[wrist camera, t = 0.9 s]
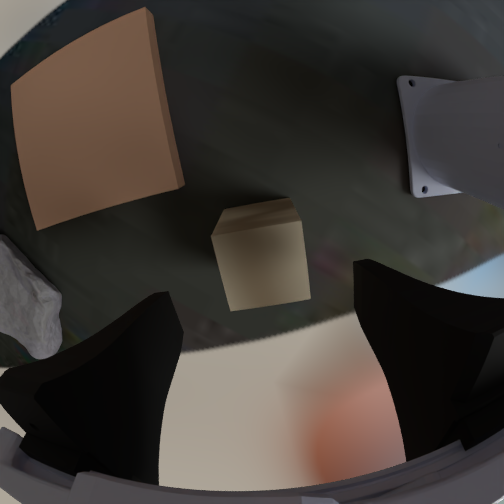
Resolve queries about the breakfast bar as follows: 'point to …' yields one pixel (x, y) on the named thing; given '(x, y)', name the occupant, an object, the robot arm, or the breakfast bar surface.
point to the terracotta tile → (96, 123)
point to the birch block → (261, 254)
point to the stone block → (28, 303)
